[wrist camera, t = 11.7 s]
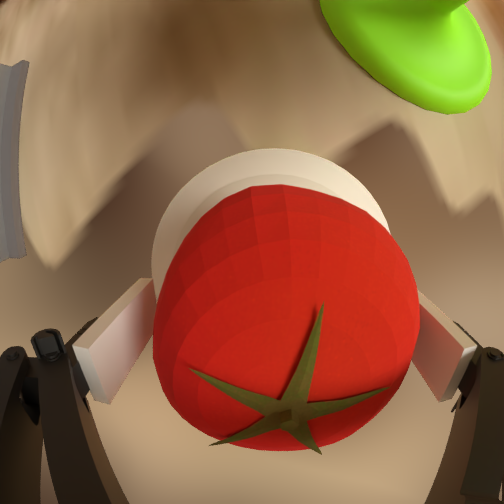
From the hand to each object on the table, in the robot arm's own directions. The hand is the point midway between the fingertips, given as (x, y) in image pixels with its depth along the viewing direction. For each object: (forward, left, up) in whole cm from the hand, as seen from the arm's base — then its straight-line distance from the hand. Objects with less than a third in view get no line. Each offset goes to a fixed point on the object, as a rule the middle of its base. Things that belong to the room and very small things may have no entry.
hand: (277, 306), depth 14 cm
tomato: (0, 0, -3) cm, 3 cm away
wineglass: (-20, +11, -4) cm, 23 cm away
